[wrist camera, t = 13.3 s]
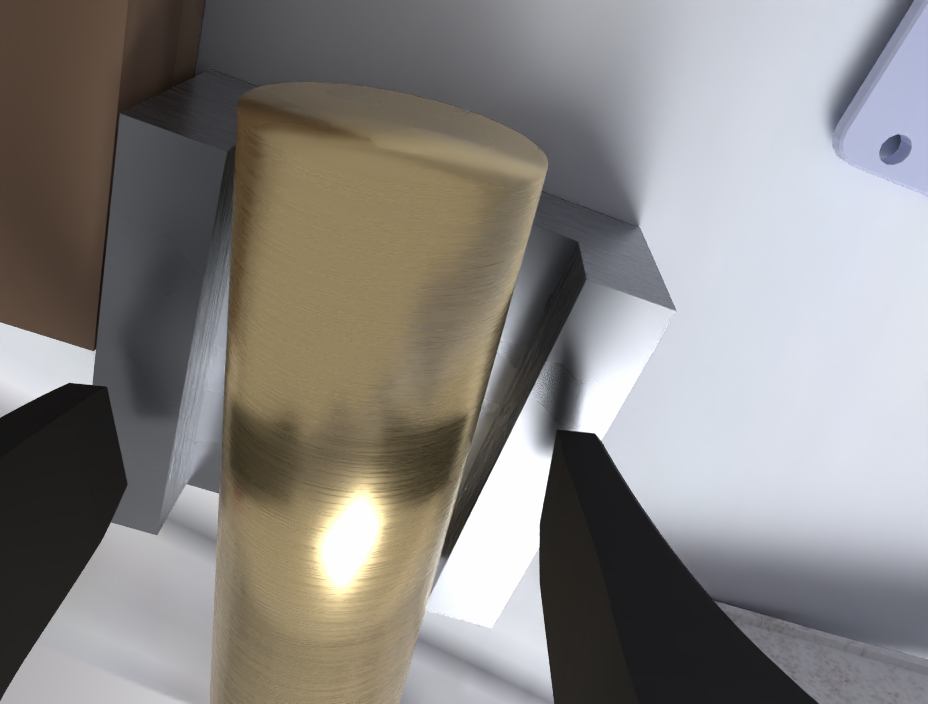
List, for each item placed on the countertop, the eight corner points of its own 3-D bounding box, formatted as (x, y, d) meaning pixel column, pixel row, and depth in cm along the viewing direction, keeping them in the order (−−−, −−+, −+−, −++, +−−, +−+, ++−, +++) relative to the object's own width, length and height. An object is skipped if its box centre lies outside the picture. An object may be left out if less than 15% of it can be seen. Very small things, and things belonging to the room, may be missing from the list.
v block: (640, 227, 14) (676, 310, 11) (493, 510, 18) (491, 628, 15) (209, 68, 13) (120, 113, 10) (155, 408, 17) (79, 513, 14)
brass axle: (282, 65, 11) (188, 133, 7) (539, 123, 11) (561, 213, 8) (242, 592, 17) (180, 762, 14) (408, 619, 17) (389, 792, 14)
